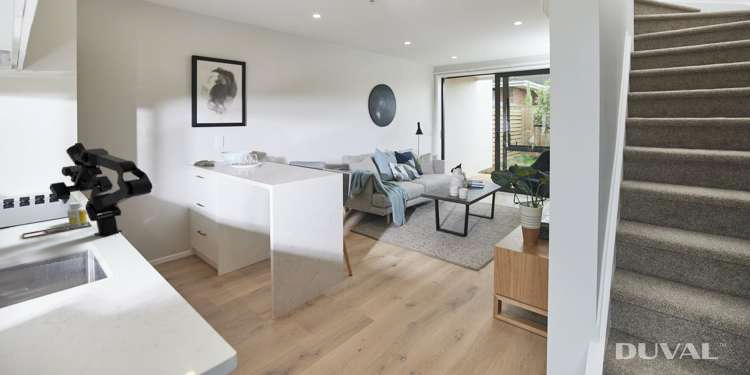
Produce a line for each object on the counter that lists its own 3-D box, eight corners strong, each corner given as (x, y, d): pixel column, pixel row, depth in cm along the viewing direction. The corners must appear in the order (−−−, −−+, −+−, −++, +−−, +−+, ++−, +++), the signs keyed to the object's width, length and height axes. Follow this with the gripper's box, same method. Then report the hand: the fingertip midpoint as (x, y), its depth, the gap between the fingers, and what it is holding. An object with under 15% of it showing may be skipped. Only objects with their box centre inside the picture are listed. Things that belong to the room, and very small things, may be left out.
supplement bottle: (71, 229, 144) (66, 205, 142) (70, 226, 148) (65, 203, 146) (88, 226, 147) (84, 203, 145) (87, 223, 151) (83, 200, 149)
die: (84, 219, 158) (81, 207, 157) (85, 221, 154) (83, 209, 153) (69, 222, 154) (66, 209, 153) (70, 224, 151) (68, 211, 150)
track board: (88, 222, 153) (88, 221, 152) (91, 226, 148) (91, 225, 148) (22, 234, 139) (22, 233, 139) (23, 239, 134) (23, 237, 134)
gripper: (103, 155, 146) (94, 181, 154) (46, 161, 130) (38, 189, 138) (118, 176, 144) (107, 200, 152) (61, 184, 128) (52, 212, 136)
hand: (77, 200), depth 144 cm, fingers open, 9 cm apart
